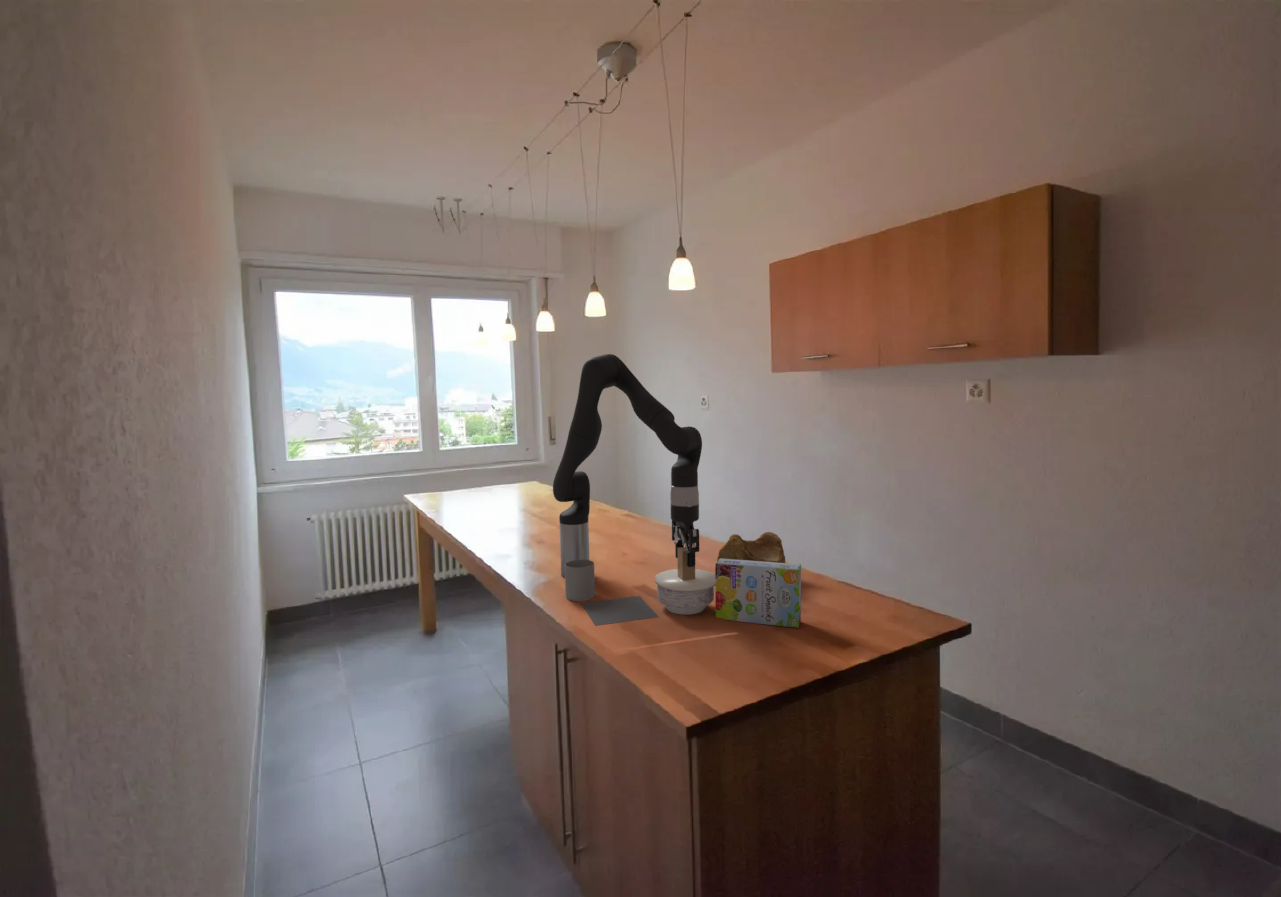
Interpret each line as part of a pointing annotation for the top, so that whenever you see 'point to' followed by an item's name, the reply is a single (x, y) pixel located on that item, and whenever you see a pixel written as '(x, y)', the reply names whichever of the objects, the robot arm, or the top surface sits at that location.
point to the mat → (618, 610)
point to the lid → (685, 576)
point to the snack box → (758, 592)
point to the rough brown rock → (754, 549)
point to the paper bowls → (685, 600)
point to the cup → (579, 580)
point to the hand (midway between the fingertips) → (685, 562)
